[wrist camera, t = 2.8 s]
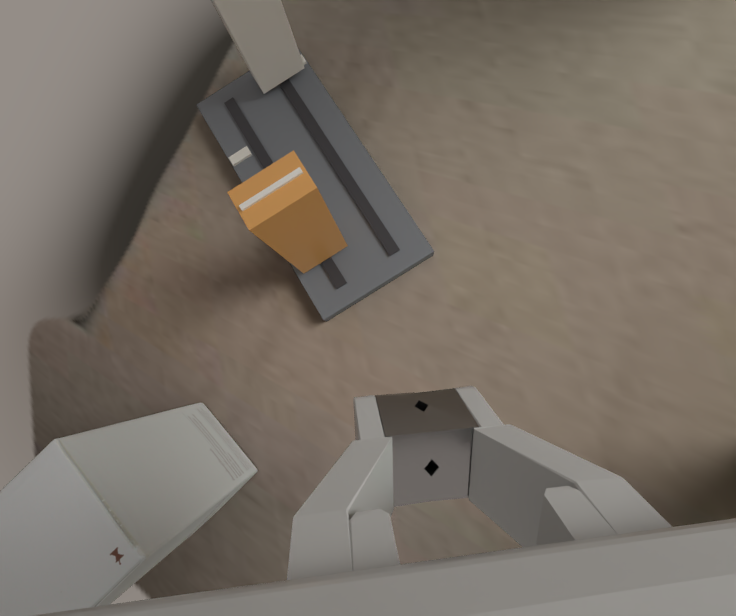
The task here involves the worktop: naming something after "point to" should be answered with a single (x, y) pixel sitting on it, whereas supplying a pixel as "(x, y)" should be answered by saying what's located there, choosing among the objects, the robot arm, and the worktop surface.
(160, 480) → the supplement box
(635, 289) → the worktop surface
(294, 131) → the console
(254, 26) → the fader white
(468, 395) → the robot arm
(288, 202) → the fader orange
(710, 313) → the worktop surface
